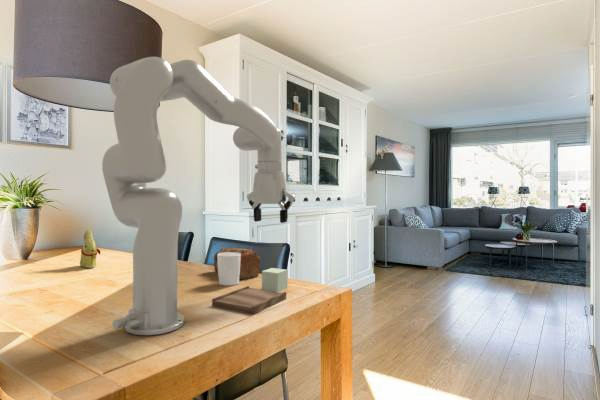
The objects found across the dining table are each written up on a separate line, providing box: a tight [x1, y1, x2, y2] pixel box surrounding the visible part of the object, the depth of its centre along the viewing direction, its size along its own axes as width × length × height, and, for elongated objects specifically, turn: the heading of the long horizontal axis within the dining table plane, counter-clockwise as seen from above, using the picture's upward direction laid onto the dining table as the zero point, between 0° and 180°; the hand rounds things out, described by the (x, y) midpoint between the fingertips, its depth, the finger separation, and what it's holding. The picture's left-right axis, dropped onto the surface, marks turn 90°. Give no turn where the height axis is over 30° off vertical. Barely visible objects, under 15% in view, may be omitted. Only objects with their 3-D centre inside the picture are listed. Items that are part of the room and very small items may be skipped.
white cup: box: [217, 252, 241, 287], centre depth 126 cm, size 8×8×10 cm
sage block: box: [261, 267, 289, 293], centre depth 119 cm, size 6×6×6 cm
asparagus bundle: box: [79, 229, 101, 270], centre depth 150 cm, size 7×11×15 cm, turn 45°
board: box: [211, 285, 287, 315], centre depth 104 cm, size 16×14×2 cm
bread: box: [213, 247, 261, 280], centre depth 140 cm, size 19×11×10 cm, turn 37°
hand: (270, 221), depth 118 cm, fingers open, 9 cm apart
